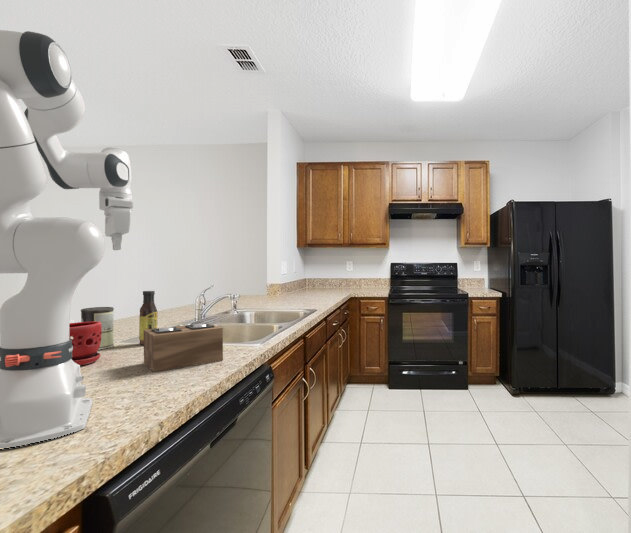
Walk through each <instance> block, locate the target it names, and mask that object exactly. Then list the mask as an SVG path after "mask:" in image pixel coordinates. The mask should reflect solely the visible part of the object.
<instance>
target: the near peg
mask: <svg viewBox="0 0 631 533" xmlns="http://www.w3.org/2000/svg"><path fill="white" fill-rule="evenodd" d="M173 327H174V326H168V327H165V326H164V327H158V328H159V331H169V330H174V328H173Z"/></svg>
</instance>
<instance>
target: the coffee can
mask: <svg viewBox="0 0 631 533" xmlns="http://www.w3.org/2000/svg"><path fill="white" fill-rule="evenodd" d="M80 312H81V313H80V316H81V318H80V319H81V320H80V322H92V321H94V322H101V326H102V335H101V343H100V346H99V349H98V351H101V350H100V349H103V350H107V349H106V348H108V349H111V348H114V347H115V344H114V343H115V342H114V336H115V335H114V328H115V327H114V307H113V306H98V307H97V306H95V307H86V308H81V309H80ZM110 347H111V348H110Z"/></svg>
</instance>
